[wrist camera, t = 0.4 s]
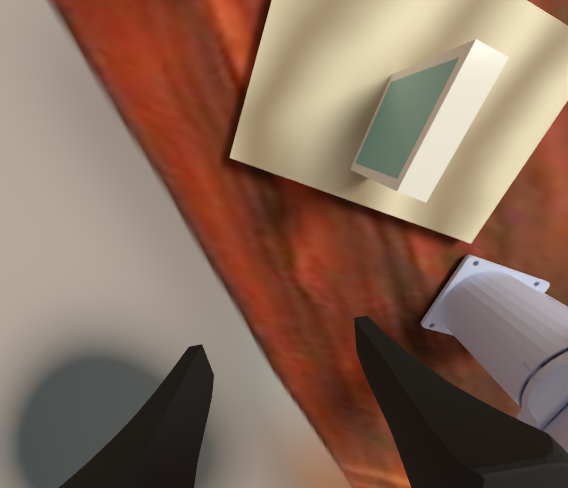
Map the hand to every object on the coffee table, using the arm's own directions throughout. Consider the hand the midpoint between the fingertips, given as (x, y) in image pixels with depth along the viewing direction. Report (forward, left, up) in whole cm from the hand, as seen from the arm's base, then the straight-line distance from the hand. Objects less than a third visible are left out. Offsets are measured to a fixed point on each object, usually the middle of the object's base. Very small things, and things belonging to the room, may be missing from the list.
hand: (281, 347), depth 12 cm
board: (-5, -13, -10) cm, 17 cm away
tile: (-3, -11, -9) cm, 15 cm away
